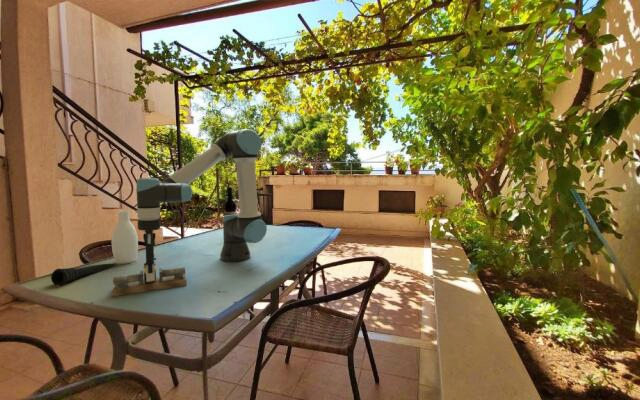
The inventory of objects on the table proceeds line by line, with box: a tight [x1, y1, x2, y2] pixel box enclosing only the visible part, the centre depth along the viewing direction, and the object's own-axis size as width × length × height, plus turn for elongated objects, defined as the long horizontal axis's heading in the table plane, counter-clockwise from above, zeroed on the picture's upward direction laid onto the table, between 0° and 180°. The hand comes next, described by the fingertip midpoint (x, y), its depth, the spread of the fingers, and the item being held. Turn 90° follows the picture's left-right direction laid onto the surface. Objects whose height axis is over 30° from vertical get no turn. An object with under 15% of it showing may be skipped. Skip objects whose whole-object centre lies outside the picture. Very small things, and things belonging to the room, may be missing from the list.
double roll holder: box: [111, 266, 188, 297], centre depth 115 cm, size 24×9×6 cm, turn 118°
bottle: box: [110, 209, 139, 265], centre depth 148 cm, size 11×11×25 cm
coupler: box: [143, 263, 157, 284], centre depth 115 cm, size 4×4×7 cm
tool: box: [50, 263, 117, 286], centre depth 129 cm, size 28×6×7 cm, turn 168°
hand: (150, 279), depth 115 cm, fingers closed on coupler, 4 cm apart
